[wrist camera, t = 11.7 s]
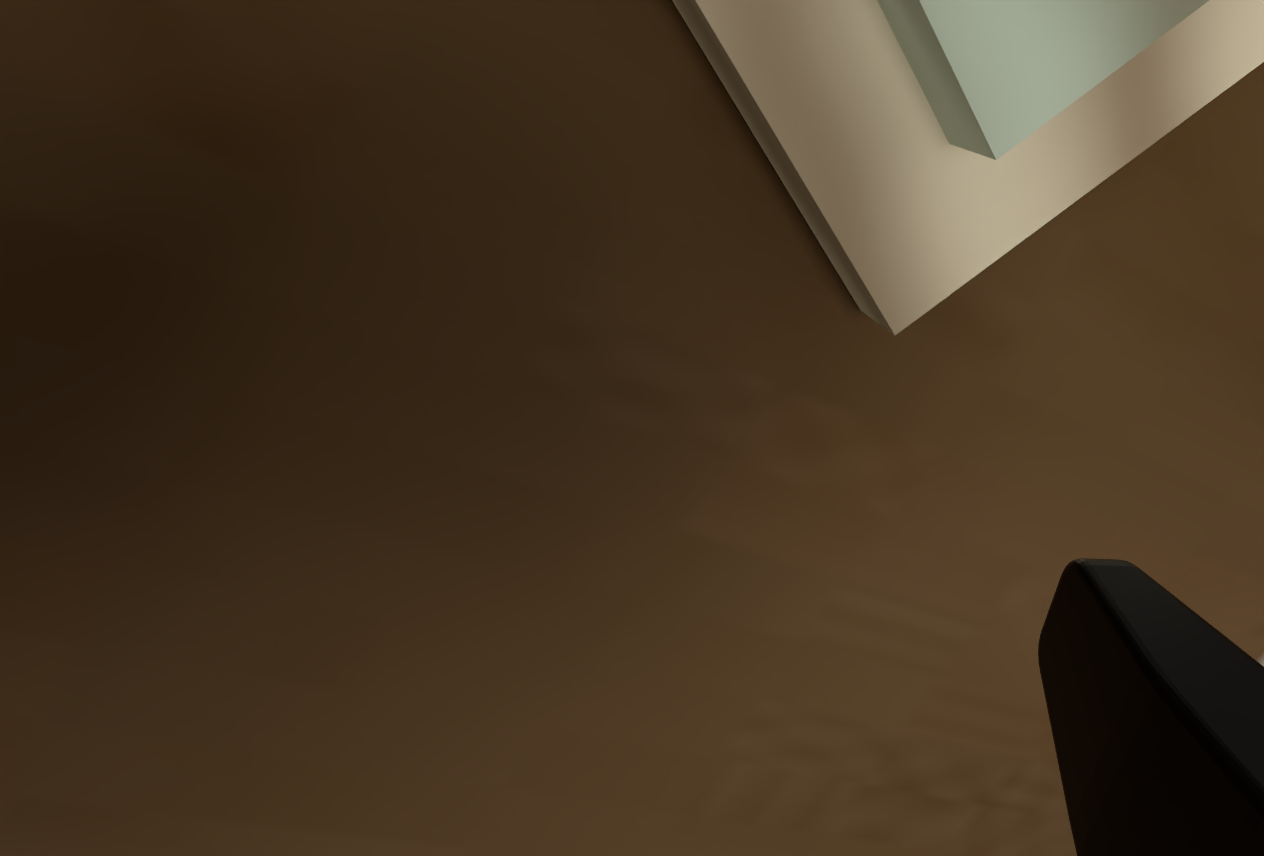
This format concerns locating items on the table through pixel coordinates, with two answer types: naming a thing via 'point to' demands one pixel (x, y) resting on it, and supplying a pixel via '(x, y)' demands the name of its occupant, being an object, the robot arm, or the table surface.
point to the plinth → (896, 154)
